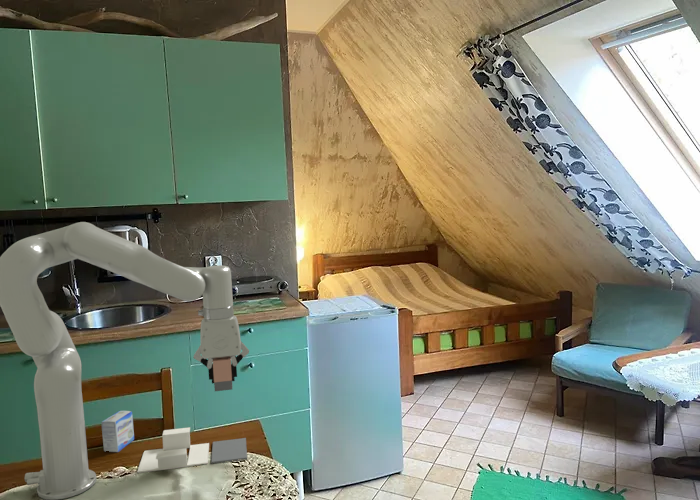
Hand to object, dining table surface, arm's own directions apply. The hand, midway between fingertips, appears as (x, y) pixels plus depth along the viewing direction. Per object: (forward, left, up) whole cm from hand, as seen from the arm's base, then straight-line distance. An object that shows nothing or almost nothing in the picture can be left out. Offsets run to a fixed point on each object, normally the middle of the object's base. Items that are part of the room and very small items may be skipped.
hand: (223, 380), depth 146 cm
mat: (+1, 0, -20) cm, 20 cm away
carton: (-13, 0, -20) cm, 24 cm away
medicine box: (-29, +12, -20) cm, 38 cm away
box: (0, 0, -2) cm, 2 cm away
